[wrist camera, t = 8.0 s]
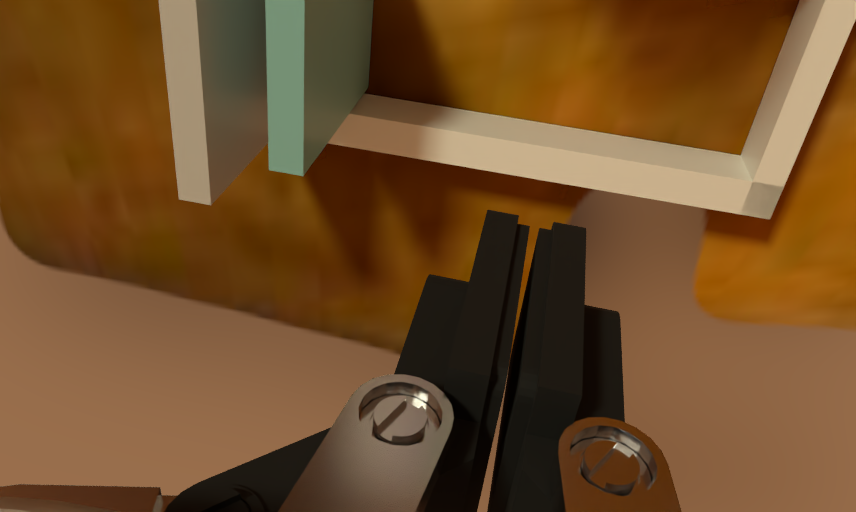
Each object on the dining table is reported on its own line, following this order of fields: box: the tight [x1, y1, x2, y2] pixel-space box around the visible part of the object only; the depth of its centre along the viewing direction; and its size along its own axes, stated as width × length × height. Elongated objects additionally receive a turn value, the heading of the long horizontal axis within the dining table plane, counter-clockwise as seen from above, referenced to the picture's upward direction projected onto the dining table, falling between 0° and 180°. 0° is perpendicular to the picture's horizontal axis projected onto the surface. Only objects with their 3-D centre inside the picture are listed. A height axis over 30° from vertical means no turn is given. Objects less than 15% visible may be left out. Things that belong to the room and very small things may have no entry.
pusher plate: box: [265, 0, 374, 176], centre depth 26 cm, size 3×7×9 cm, turn 174°
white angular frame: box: [159, 0, 856, 220], centre depth 25 cm, size 22×11×9 cm, turn 84°
